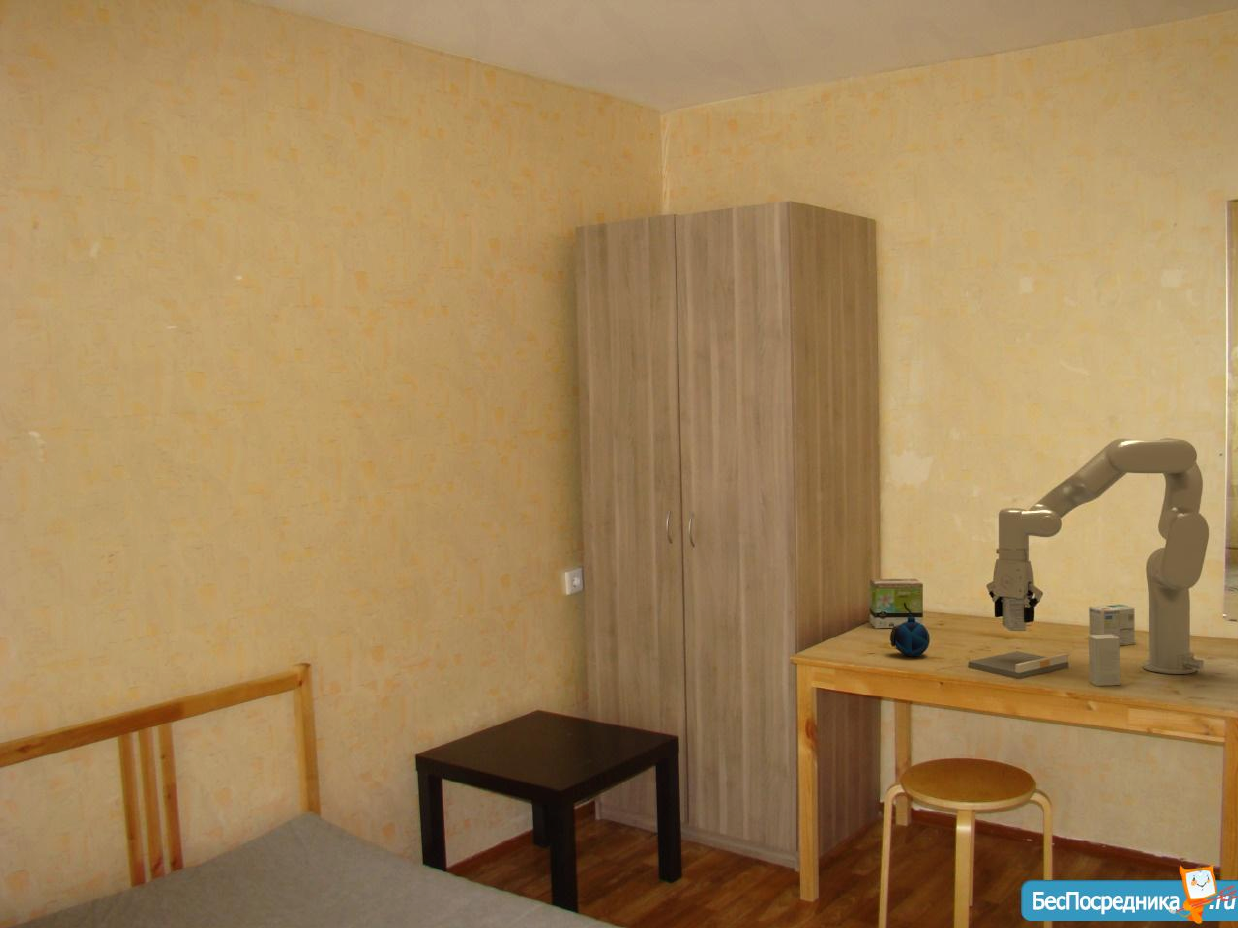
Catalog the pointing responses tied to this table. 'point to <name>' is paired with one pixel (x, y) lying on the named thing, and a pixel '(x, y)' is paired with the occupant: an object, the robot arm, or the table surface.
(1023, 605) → the medicine box
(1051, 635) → the table surface
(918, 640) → the bomb
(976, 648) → the table surface
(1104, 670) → the skincare box
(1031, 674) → the shelf board
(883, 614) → the tea box
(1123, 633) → the light bulb box
